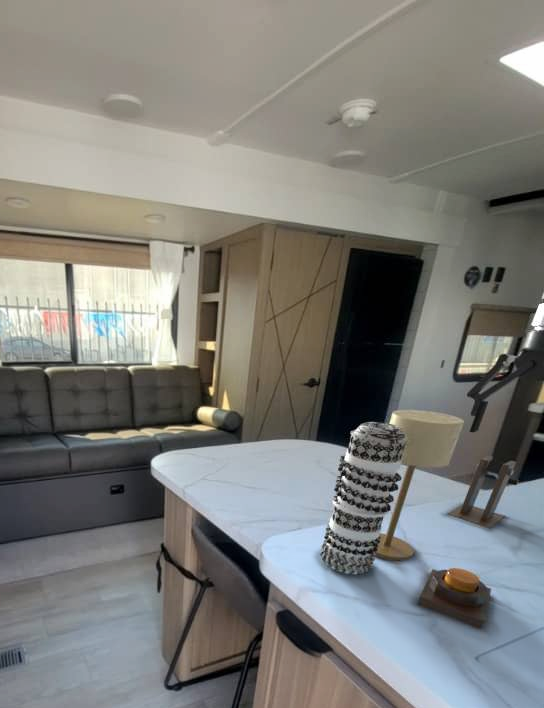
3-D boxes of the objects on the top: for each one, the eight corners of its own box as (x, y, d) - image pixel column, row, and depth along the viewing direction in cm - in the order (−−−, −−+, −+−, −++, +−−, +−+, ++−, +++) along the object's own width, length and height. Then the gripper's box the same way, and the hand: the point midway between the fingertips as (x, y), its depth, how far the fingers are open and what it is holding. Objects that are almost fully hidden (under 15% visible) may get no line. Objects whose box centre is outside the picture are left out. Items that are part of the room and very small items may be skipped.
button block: (428, 579, 68) (435, 559, 67) (486, 600, 64) (495, 579, 62) (415, 607, 62) (423, 586, 60) (478, 633, 57) (489, 610, 55)
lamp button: (446, 574, 64) (449, 564, 63) (476, 584, 61) (481, 574, 61) (441, 585, 61) (445, 575, 60) (473, 596, 59) (478, 586, 58)
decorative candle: (307, 552, 75) (336, 418, 64) (355, 551, 76) (391, 418, 65) (330, 581, 67) (368, 433, 56) (383, 580, 68) (430, 433, 57)
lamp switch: (483, 480, 94) (488, 470, 94) (515, 488, 90) (520, 478, 90) (474, 468, 86) (479, 457, 86) (508, 476, 82) (514, 465, 81)
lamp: (407, 543, 80) (451, 412, 68) (421, 570, 71) (474, 426, 60) (352, 534, 82) (387, 407, 71) (359, 560, 73) (399, 420, 62)
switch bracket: (462, 507, 96) (484, 451, 90) (502, 520, 90) (529, 461, 84) (445, 518, 90) (467, 459, 84) (487, 532, 84) (514, 470, 78)
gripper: (472, 326, 84) (439, 428, 93) (648, 332, 66) (585, 456, 75) (485, 327, 88) (452, 424, 97) (653, 332, 70) (593, 450, 80)
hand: (510, 438), depth 86 cm, fingers open, 13 cm apart
